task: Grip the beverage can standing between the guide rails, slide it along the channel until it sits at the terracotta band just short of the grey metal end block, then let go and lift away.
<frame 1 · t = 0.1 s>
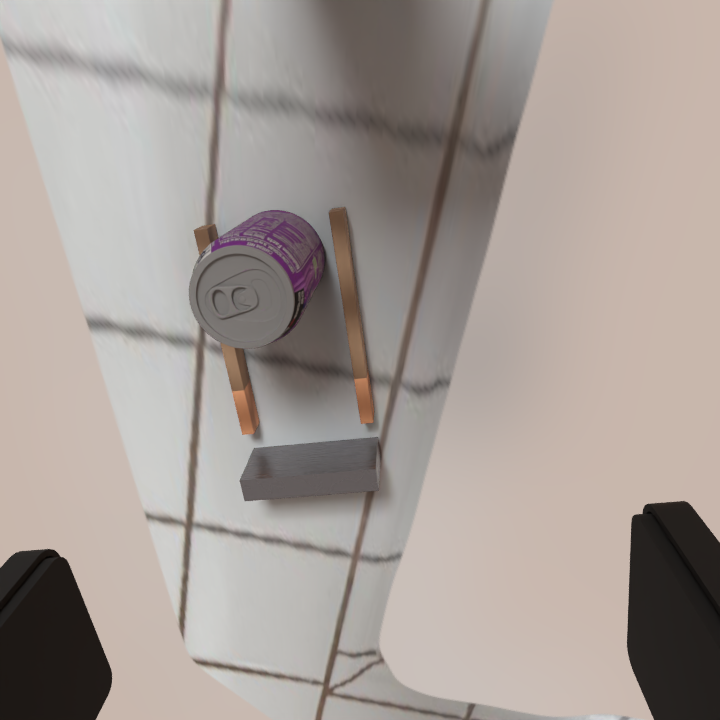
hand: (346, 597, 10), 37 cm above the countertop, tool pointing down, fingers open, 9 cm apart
beverage can: (280, 255, 45), on the countertop
guide channel: (296, 341, 47), on the countertop
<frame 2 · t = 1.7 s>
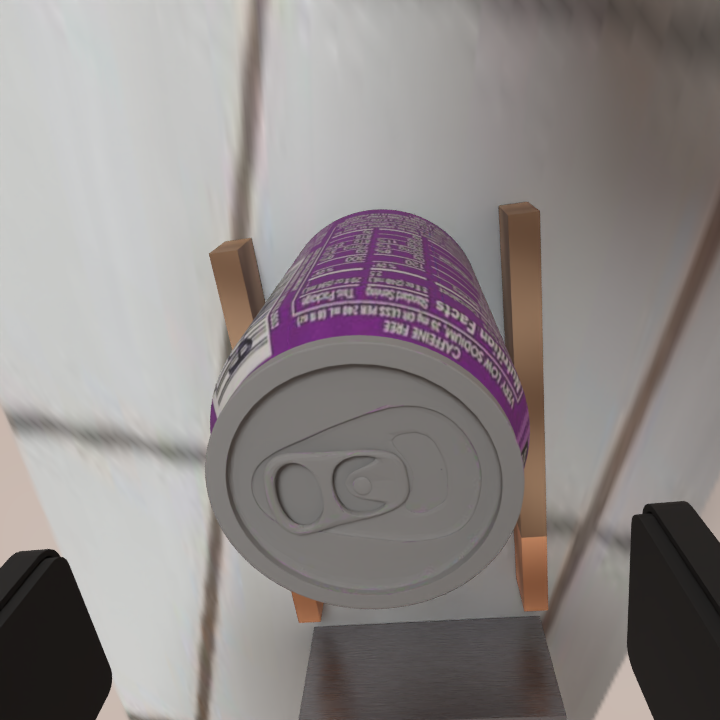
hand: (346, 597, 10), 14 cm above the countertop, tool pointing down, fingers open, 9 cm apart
beverage can: (382, 299, 22), on the countertop
guide channel: (402, 457, 25), on the countertop
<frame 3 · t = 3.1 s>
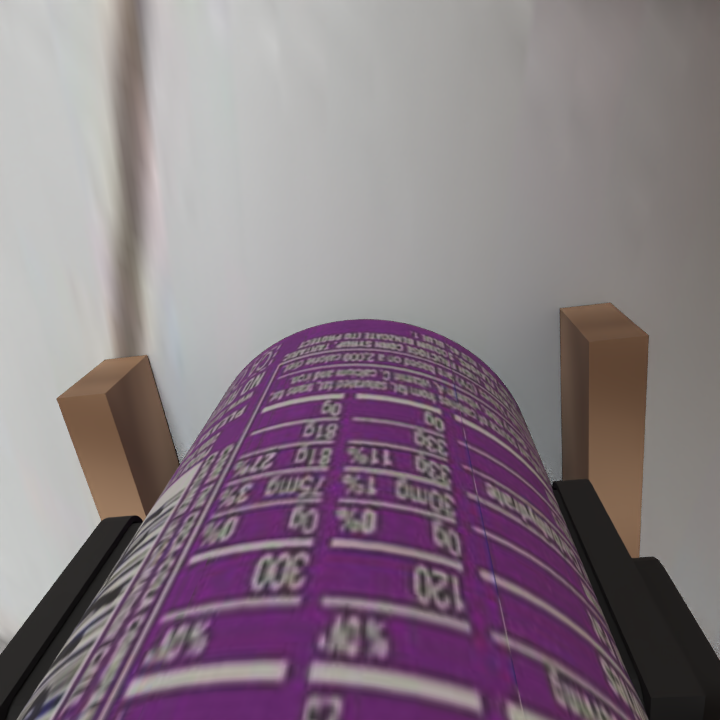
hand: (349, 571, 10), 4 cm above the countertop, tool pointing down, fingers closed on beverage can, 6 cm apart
beverage can: (370, 448, 14), on the countertop, touching gripper
guide channel: (398, 670, 16), on the countertop
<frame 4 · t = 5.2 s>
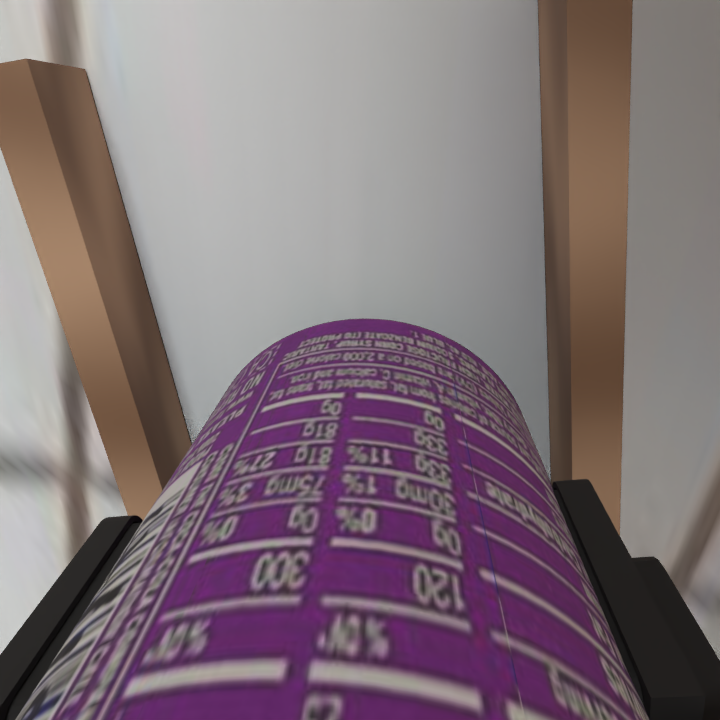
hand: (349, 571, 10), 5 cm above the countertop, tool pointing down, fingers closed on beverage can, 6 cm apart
beverage can: (370, 448, 14), point 1 cm above the countertop, touching gripper
guide channel: (370, 469, 15), on the countertop
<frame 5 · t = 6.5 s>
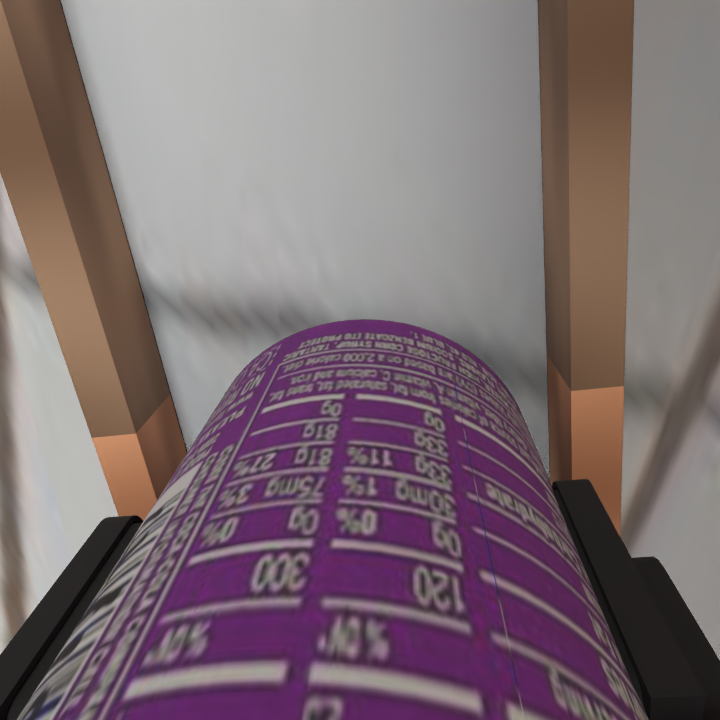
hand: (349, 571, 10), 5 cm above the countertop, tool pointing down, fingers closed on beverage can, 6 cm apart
beverage can: (370, 448, 14), point 1 cm above the countertop, touching gripper
guide channel: (332, 248, 13), on the countertop
when the fingers open (4 cm above the countertop, at t = 7.5 s): beverage can stays where it is, on the countertop.
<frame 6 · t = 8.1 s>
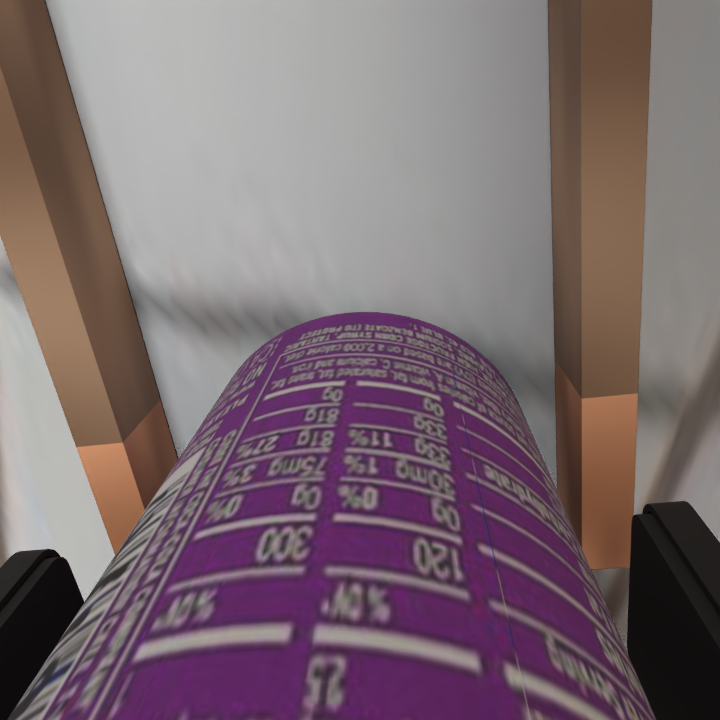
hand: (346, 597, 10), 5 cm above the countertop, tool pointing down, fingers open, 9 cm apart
beverage can: (369, 441, 14), on the countertop
guide channel: (329, 248, 12), on the countertop
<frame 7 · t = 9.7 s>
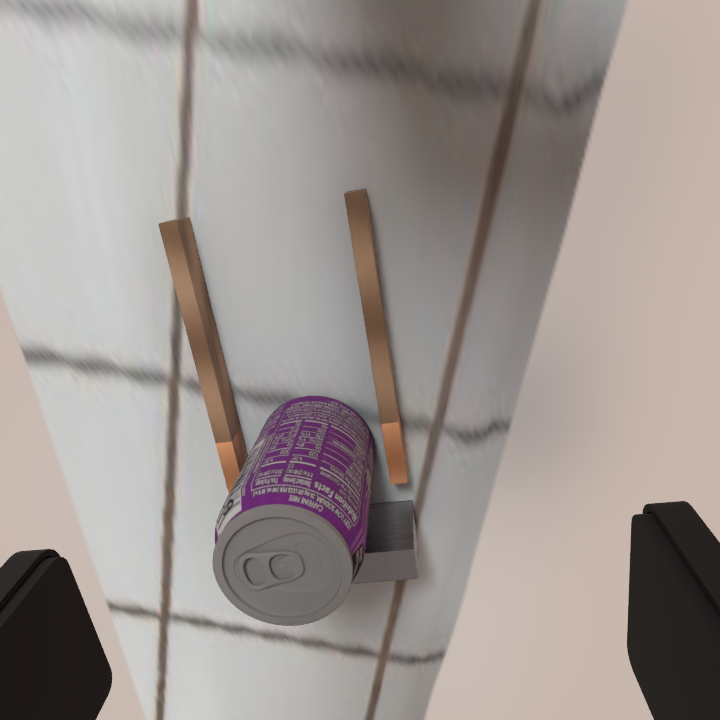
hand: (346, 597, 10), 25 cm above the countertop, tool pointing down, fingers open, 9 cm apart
beverage can: (319, 441, 37), on the countertop
guide channel: (301, 373, 35), on the countertop
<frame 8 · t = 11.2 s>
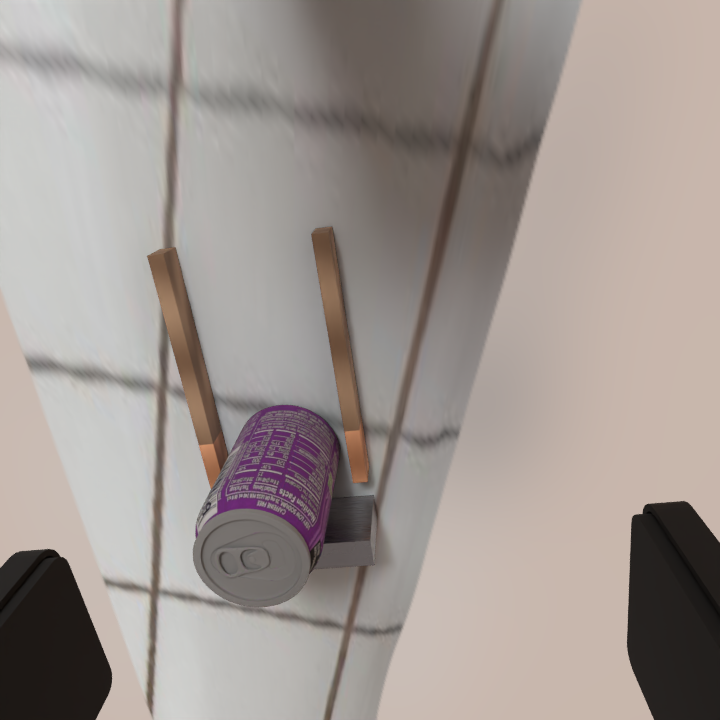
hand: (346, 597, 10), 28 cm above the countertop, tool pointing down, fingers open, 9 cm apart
beverage can: (291, 443, 42), on the countertop
guide channel: (275, 384, 40), on the countertop
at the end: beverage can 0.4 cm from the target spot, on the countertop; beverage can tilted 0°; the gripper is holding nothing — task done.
